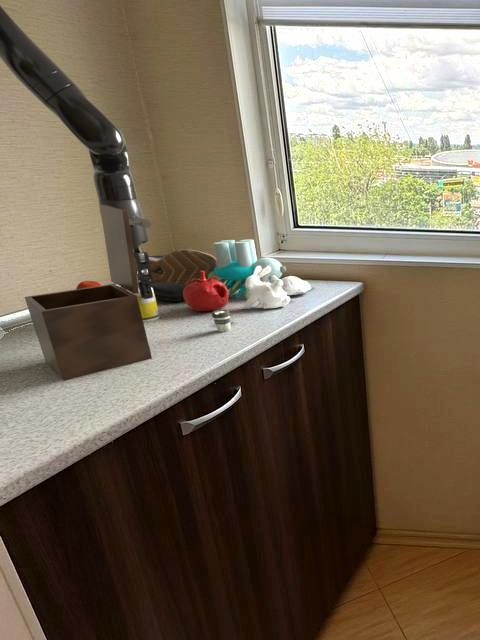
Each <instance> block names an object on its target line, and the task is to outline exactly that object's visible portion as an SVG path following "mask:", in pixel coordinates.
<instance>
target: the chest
mask: <svg viewBox="0 0 480 640" xmlns="http://www.w3.org/2000/svg"><path fill="white" fill-rule="evenodd" d="M24 300H25V303H26V306H27V310H28V312H29V315H30V319H31V322H32V324H33V328H34V331H35V334H36V337H37V340H38V343H39V345H40V349H41V352H42V354H43V358H44V362H45V363H46V364H47V366H48V367H49V368H50V369H51V370H52V371H53V372H54V373H55V374H56V375H57V376H58V377H59V378H60V380H62V381H63V382H65V381H69V380H73V379H76V378H81V377H85V376H89V375H93V374H96V373H101V372H104V371H108V370H112V369H116V368H120V367H124V366H128V365H133V364H135V363H139V362H143V361H147V360H152V359H153V357H152V352H151V349H150V344H149V340H148V337H147V332H146V328H145V322H143V319H142V315H141V311H140V306H139V302H138V298H137V296H136V295H134V294H132V293H130V292H128V291H127V290H126V289H125V288H123V287H121V286H119V285H117V284H115V283H110V284H103V285H101V286H96V287H89V288H82V289H76V288H75V289H69V290H62V291H55V292H48V293H42V294H35V295H28V296H27V295H26V296H24Z"/></svg>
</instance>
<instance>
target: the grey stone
mask: <svg viewBox="0 0 480 640" xmlns="http://www.w3.org/2000/svg"><path fill="white" fill-rule="evenodd" d="M280 280H282V282H283V285H282V286H280V287H281V288H282V290H284V291H285V292H286V295H287V296H293V295H294V296H295V295H300V294H305V293H307V292H309V291H310V290H311V289H312V286H311V284H310V283H309V282H308V281H306V280H303V279H301V278H300V277H297V276H295V275H294V276H293V275H287V276H285V277H281V278H280Z"/></svg>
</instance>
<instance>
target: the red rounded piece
mask: <svg viewBox="0 0 480 640" xmlns="http://www.w3.org/2000/svg"><path fill="white" fill-rule="evenodd" d="M96 286H102V284H101V283H100V282H98V281H93V280H84V281H81V282H79V283H78V284H77V286H76V288H75V289H82V288H89V287H96Z"/></svg>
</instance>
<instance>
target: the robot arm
mask: <svg viewBox="0 0 480 640" xmlns="http://www.w3.org/2000/svg"><path fill="white" fill-rule="evenodd" d="M0 59H1V61H2V62H3V63H4V65H5V66H6V67H7V68H8V69H9V71H10V72H11V73H12V74H13V75H14V76H15V78H16V79H17V80H18V81H19V82H20V83H21V84H22V85H23V86H24V88H26V89H27V90H28V91H29V92H30V93H31V94H32V95H33V96H34V97H35V98H36V99H37V100H38V101H39V102H40V103H41V104H42V105H44V106H45V107H46V108H47V109H48V110H49V111H50V112H51V113H53V114H54V115H55V116H56V117H57V118H58V119H59V120H60V121H61V122H62V124H63V125H64V126H65V127H66V128H67V129H68V130H69V131H70V133H71V134H73V136H74V137H75V138H76V139H77V140H78V141H79V142H80V143H81V144H82V145H83V146H84V147H85V148H86V149H87V150H88V154H89V158H90V160H91V165H92V168H93V176H92V177H93V184H94V189H95V192H96V196H97V199H98V206H99V207H98V208H99V214H100V217H101V219H102V216H101V210H100V204H105V205H109V206H112V207H116V208H120V209H124V210H128V216H129V219H133V217H135V216H139V217H142V218H144V214H143V210H142V207H141V204H140V202H139V197H138V193H137V190H136V184H135V180H134V178H133V175H132V172H131V166H130V158H129V153H128V152H129V151H128V146H127V142H126V137H125V134H124V133H123V131H122V130H121V129H120V128H119V126H117V125H116V124H115V123H113V122H112V121H111V120H110V119H109V118H108V117H107V116H106V115H105V114H103V112H102V111H101V110H100V109H99V108H97V106H95V105H94V104H93V102H92V101H90V100H89V99H88V97H87V96H86V95H85V93H84V92H83V90H81V88H80V87H79V86H78V84H76V83H75V82H74V80H73V79H71V78H70V77H69V76H68V75H67V74H66V72H65V71H63V69H61V67H60V66H58V64H57V63H56V62H54V60H53V59H51V57H49V55H47V54H46V52H44V51H43V50H42V49H41V47H40V46H39V45H38V44H36V42H35V41H34V40H33V39H32V38H30V36H28V34H27V33H25V32H24V30H22V28H21V27H20V26H19V25H18V24H17V23H16V22H15V21H14V19H13V18H12V17H11V16H10V15H9V13H8V12H7V11H6V10H5V9H4V8H3V7H2V5H0ZM130 231H131V238H132V245H133V253H134V260H135V268H136V275H137V282H138V286H139V290H140V294H141V297H142V298H143V299H148V298H152V297H153V293H152V288H151V284H150V281H151V280H152V279H153V274H152V270H151V265H150V261H149V256H150V255H149V253H148V252H147V251H143V250H142V247H141V244H146V243H148V241H149V236H148V232H147V228H145V227H142V226H139V225H130ZM142 272H143V273H145V275H142Z"/></svg>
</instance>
